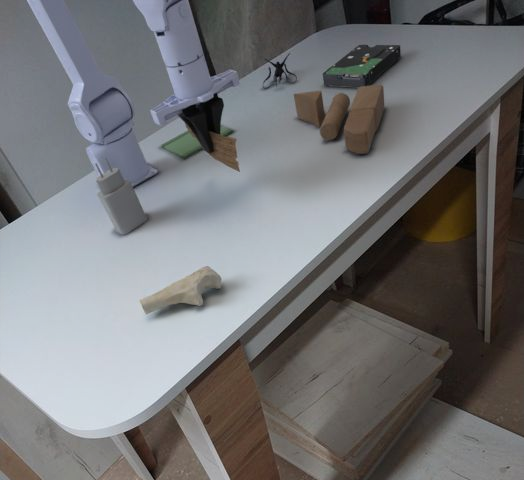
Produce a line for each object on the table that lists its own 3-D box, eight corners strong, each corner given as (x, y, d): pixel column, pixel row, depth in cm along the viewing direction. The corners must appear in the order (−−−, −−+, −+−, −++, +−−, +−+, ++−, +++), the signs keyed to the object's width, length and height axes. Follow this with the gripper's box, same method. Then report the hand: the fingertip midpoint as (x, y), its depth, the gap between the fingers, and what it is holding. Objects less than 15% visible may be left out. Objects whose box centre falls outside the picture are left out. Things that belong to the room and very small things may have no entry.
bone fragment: (145, 311, 73) (134, 291, 71) (219, 278, 74) (211, 258, 72) (151, 330, 70) (141, 311, 67) (229, 296, 71) (221, 276, 68)
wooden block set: (383, 75, 94) (367, 123, 83) (385, 106, 98) (370, 156, 87) (294, 86, 100) (267, 132, 89) (299, 115, 104) (274, 163, 93)
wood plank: (247, 168, 80) (241, 136, 77) (236, 173, 80) (230, 141, 76) (199, 143, 90) (192, 113, 87) (189, 147, 90) (182, 118, 86)
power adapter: (148, 218, 90) (119, 153, 82) (124, 235, 89) (91, 171, 80) (139, 214, 92) (109, 150, 84) (114, 230, 90) (81, 167, 82)
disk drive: (359, 58, 118) (323, 86, 111) (358, 44, 116) (321, 73, 109) (401, 58, 112) (365, 89, 105) (401, 44, 110) (364, 74, 103)
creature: (297, 90, 116) (297, 68, 120) (292, 67, 112) (293, 45, 115) (263, 97, 118) (264, 75, 122) (257, 75, 113) (258, 53, 117)
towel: (184, 159, 103) (183, 156, 103) (161, 147, 110) (161, 144, 109) (233, 132, 106) (232, 129, 106) (208, 121, 113) (207, 119, 113)
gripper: (153, 84, 70) (187, 176, 79) (240, 41, 74) (262, 134, 83) (131, 76, 74) (166, 164, 84) (214, 36, 78) (238, 124, 88)
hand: (212, 148), depth 84 cm, fingers closed on wood plank, 1 cm apart
